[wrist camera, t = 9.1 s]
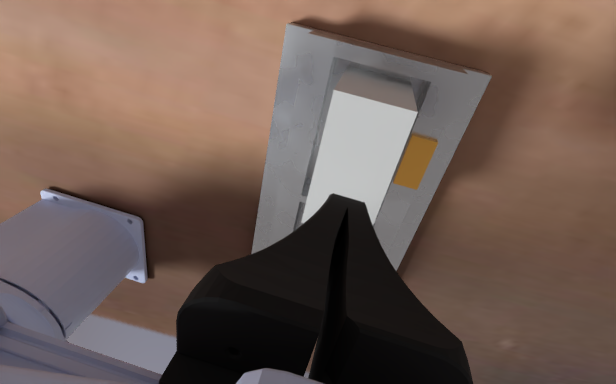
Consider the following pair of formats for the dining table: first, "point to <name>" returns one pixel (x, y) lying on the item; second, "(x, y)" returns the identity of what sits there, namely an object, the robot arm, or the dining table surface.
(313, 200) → the white rectangular block
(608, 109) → the dining table surface
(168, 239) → the dining table surface
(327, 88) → the slotted base
